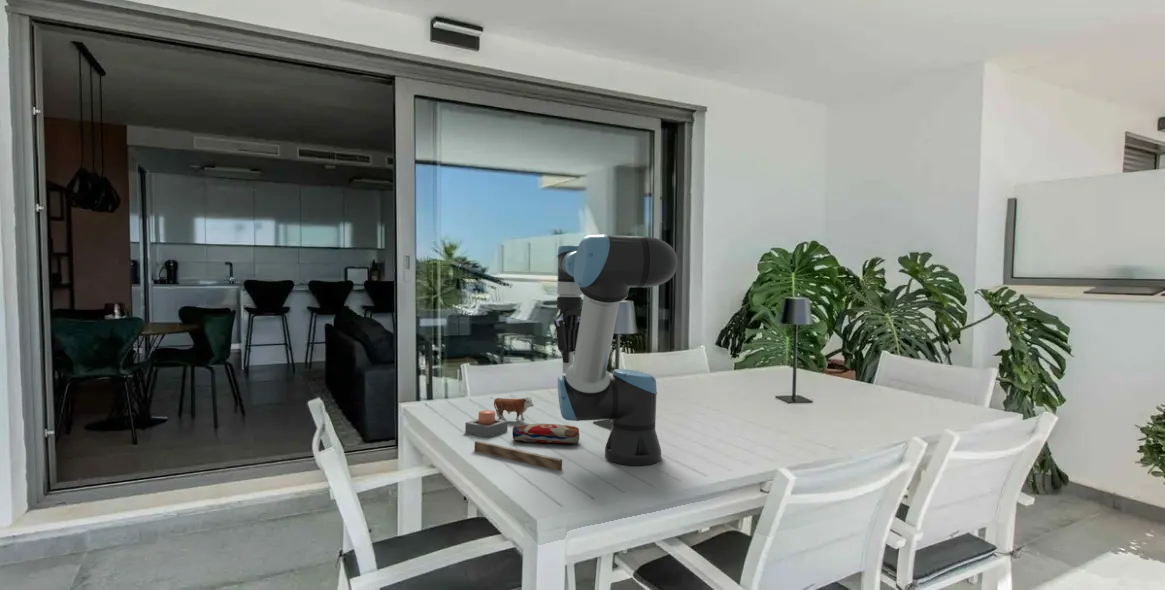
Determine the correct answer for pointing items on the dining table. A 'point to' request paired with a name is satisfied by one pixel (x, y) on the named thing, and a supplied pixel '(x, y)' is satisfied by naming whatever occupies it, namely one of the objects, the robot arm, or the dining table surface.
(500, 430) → the button housing
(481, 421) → the button
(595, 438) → the dining table surface
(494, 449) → the rail
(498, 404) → the bull figurine
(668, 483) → the dining table surface
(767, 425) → the dining table surface
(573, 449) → the dining table surface
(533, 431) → the pencil case
